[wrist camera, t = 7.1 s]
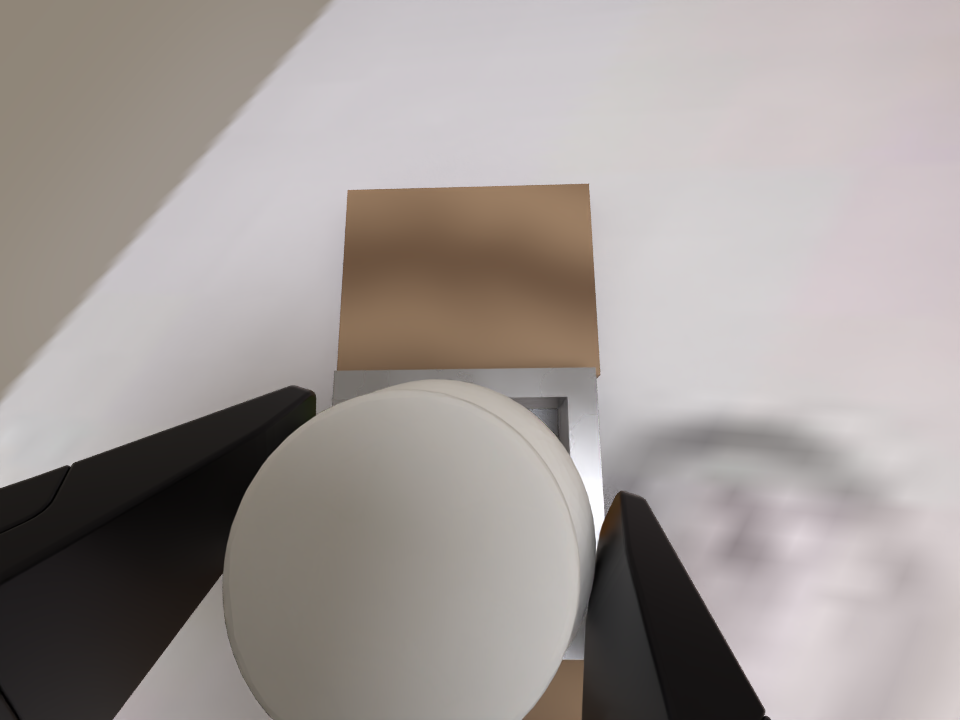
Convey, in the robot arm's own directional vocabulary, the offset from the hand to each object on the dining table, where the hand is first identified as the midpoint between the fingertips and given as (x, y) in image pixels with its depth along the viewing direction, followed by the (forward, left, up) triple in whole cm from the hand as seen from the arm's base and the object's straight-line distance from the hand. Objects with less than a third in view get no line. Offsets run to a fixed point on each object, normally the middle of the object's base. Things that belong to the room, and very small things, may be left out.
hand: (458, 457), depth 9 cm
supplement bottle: (-1, 0, -7) cm, 7 cm away
